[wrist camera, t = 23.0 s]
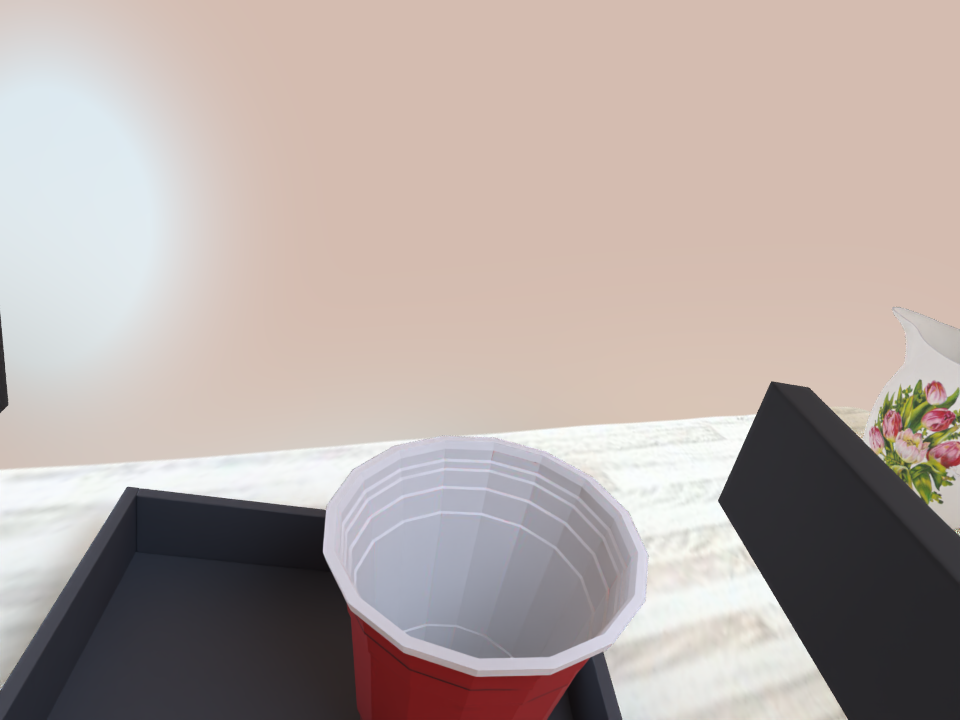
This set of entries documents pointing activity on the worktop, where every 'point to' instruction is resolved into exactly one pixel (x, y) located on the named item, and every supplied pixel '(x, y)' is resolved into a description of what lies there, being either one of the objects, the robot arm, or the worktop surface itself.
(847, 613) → the robot arm
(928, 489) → the pitcher
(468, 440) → the plastic cup
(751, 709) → the worktop surface
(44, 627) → the dark grey tray
